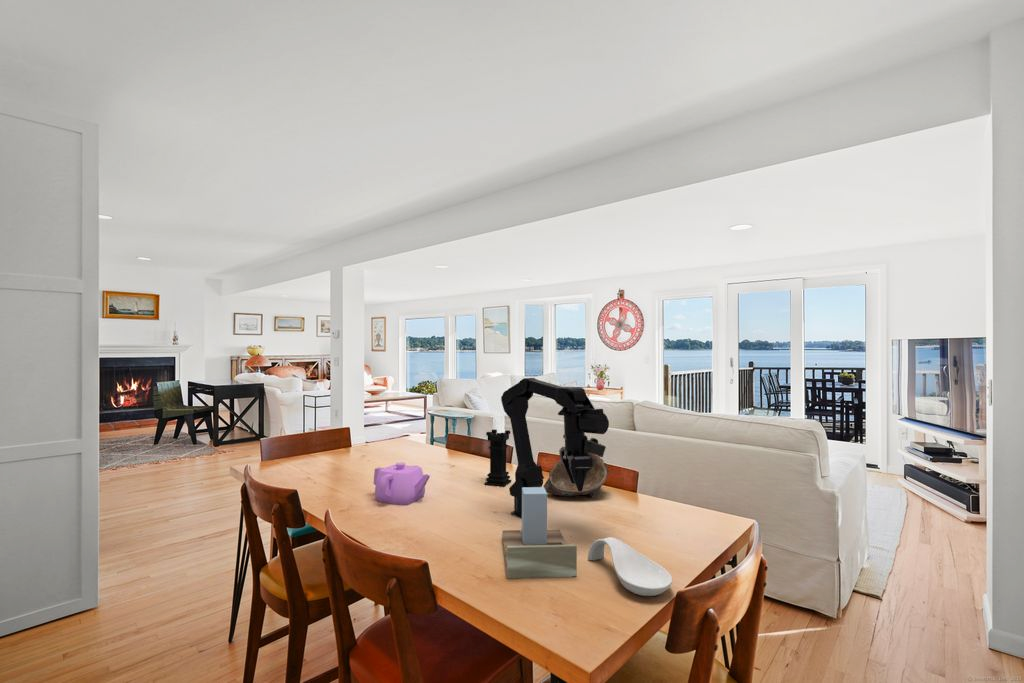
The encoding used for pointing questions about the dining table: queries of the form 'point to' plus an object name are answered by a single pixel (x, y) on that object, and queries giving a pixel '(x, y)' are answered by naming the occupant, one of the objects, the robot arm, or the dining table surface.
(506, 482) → the chess piece
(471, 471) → the dining table surface
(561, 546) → the board
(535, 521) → the blue block
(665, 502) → the dining table surface
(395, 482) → the teakettle
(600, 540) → the spoon rest
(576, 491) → the coconut shell half
